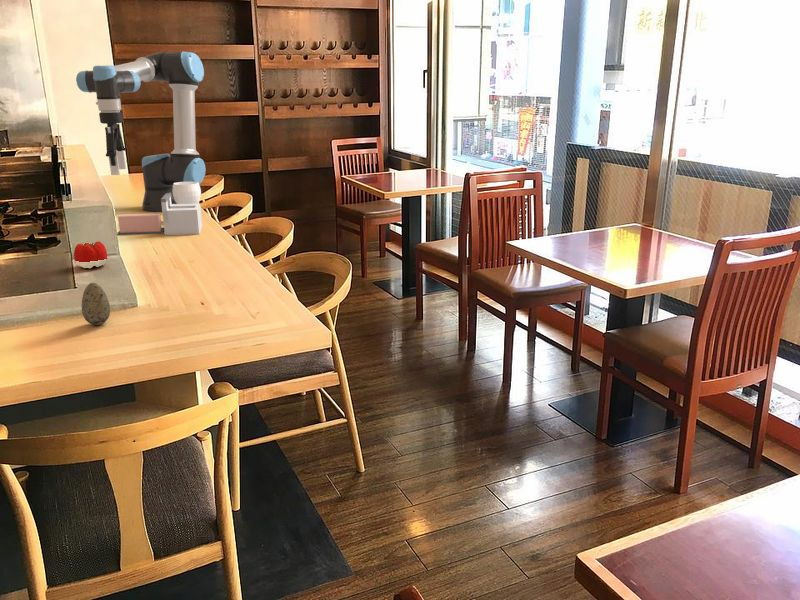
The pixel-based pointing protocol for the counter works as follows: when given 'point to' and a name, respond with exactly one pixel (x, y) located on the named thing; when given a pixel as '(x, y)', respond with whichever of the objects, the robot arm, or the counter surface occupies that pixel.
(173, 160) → the robot arm
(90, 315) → the decorative egg
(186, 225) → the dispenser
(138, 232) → the pad
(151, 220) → the pink rectangular block
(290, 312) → the counter surface
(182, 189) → the cup
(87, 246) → the tomato
